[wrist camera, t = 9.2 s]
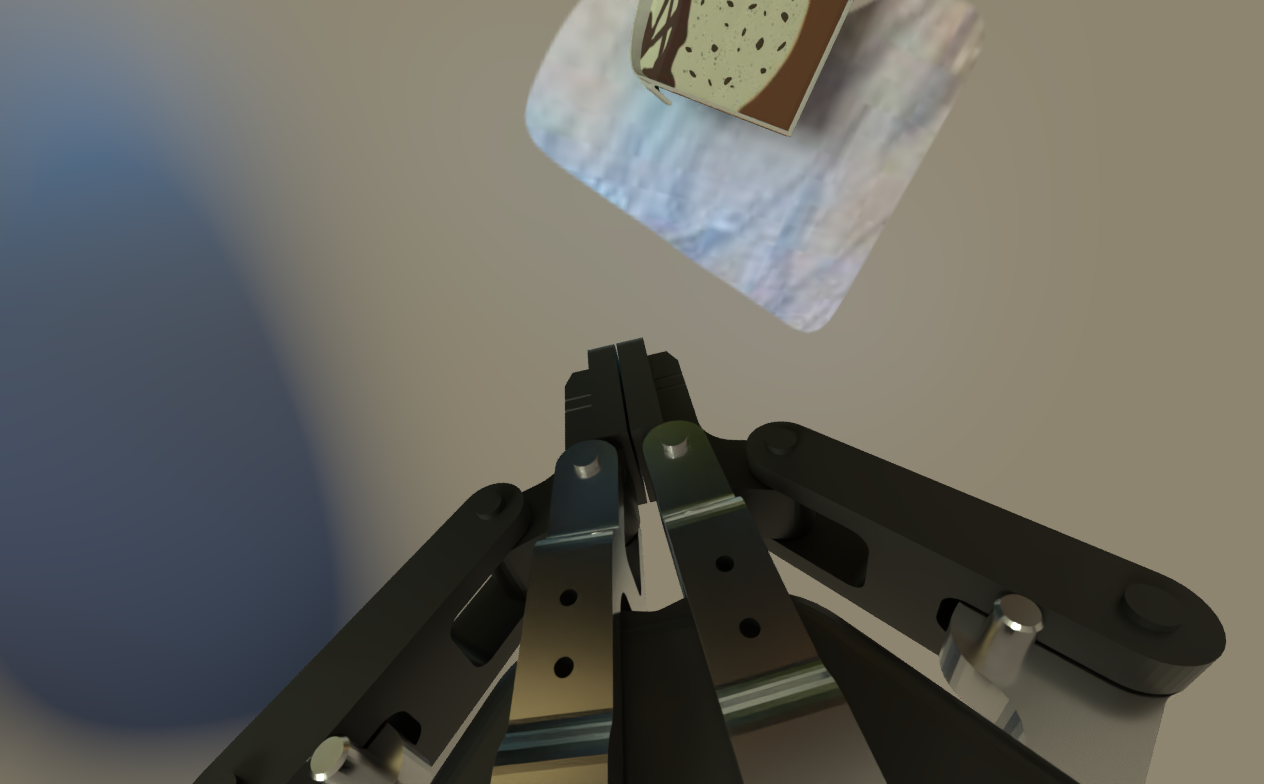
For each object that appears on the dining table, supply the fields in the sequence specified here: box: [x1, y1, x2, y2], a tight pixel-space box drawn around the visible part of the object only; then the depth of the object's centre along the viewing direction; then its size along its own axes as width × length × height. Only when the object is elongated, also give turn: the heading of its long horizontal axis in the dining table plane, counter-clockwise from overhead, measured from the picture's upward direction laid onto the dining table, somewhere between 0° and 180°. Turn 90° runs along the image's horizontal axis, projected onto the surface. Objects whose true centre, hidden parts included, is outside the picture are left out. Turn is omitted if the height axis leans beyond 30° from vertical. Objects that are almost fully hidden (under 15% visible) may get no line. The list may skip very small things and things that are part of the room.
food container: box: [630, 0, 854, 137], centre depth 29 cm, size 12×6×10 cm
